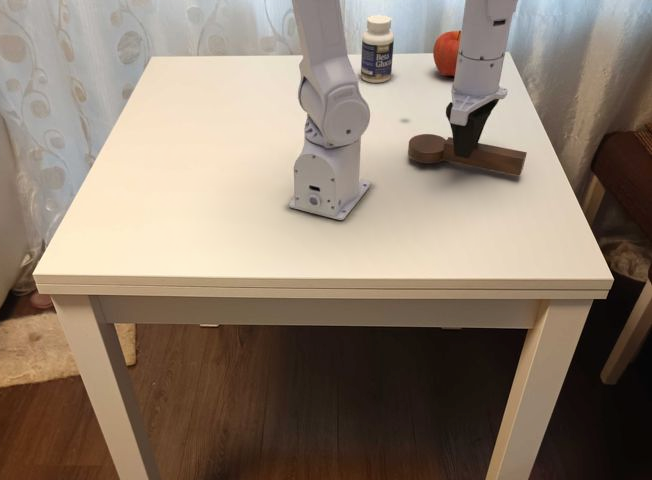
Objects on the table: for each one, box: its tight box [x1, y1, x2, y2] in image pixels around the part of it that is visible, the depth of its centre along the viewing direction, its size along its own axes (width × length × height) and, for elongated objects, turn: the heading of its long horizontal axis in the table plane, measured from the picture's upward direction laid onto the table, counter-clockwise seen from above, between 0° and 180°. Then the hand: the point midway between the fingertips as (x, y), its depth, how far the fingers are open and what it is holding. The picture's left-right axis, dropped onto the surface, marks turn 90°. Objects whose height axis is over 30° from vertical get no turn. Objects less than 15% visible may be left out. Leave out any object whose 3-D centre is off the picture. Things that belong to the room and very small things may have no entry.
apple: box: [432, 30, 461, 77], centre depth 110 cm, size 7×7×8 cm
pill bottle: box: [360, 14, 395, 84], centre depth 110 cm, size 5×5×10 cm
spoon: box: [407, 133, 528, 177], centre depth 89 cm, size 16×6×3 cm, turn 63°
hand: (465, 151), depth 89 cm, fingers closed on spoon, 2 cm apart
